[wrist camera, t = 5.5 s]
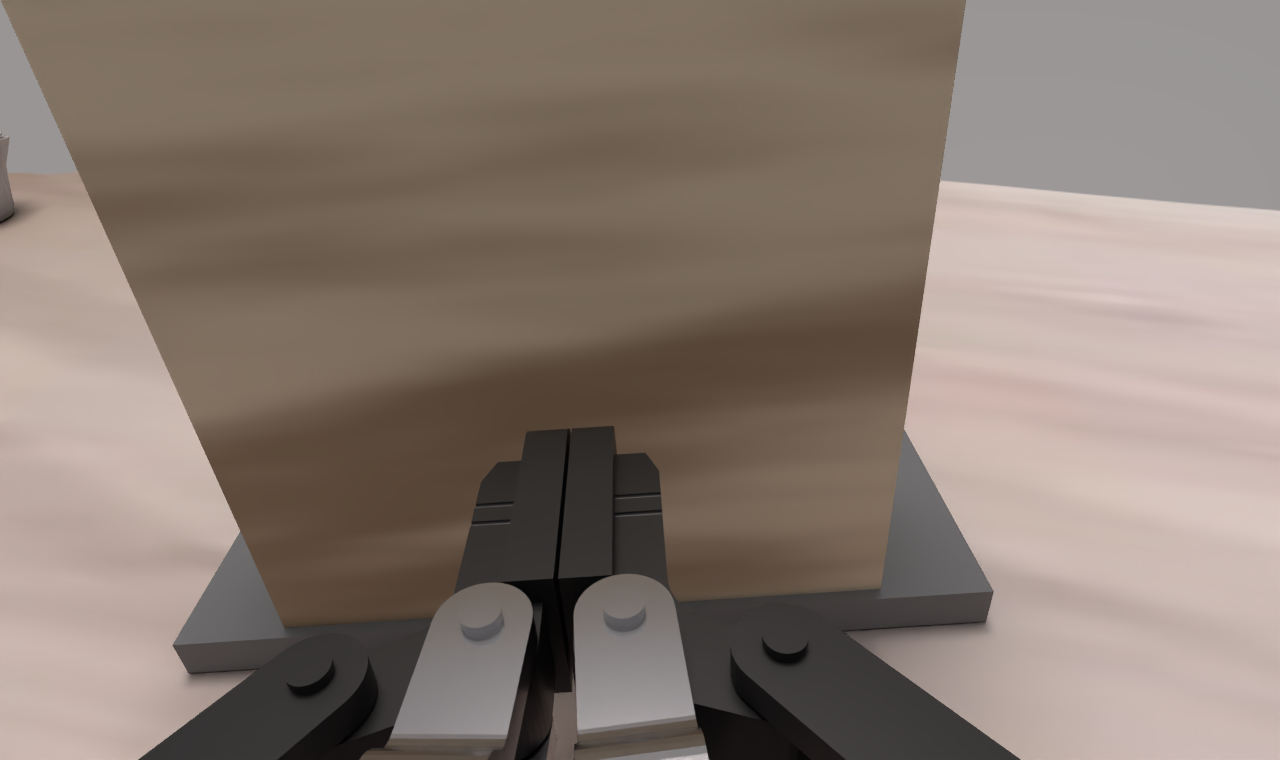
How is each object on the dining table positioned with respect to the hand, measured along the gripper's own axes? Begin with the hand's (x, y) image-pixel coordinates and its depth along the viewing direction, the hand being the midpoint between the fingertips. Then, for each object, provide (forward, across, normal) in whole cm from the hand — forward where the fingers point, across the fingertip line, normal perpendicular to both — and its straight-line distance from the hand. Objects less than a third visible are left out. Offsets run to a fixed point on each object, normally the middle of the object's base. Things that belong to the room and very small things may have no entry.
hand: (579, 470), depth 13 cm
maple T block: (+8, -1, -5) cm, 10 cm away
